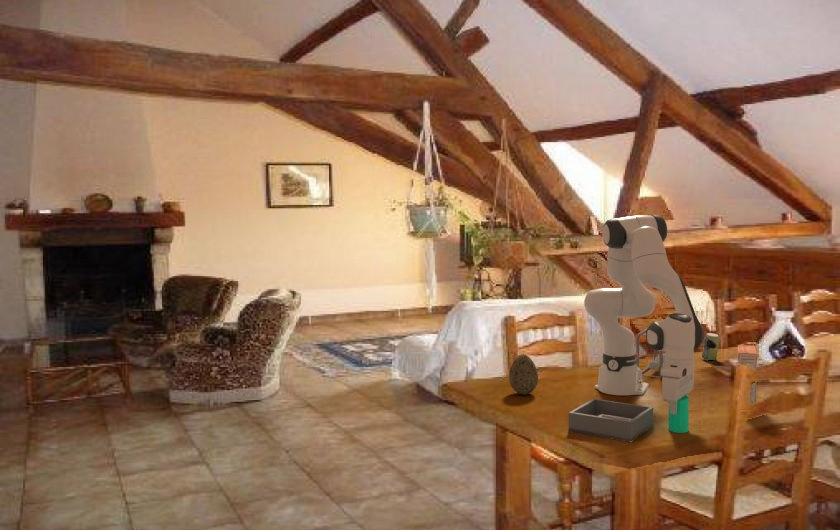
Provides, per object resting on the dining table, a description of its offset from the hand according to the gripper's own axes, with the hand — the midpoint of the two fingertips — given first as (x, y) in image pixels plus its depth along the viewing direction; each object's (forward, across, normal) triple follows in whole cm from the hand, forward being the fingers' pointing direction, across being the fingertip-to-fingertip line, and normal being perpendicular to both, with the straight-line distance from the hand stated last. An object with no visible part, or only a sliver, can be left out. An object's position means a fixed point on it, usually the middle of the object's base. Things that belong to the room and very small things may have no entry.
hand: (678, 410), depth 241 cm
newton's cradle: (+6, -77, -32) cm, 84 cm away
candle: (+7, 0, 0) cm, 7 cm away
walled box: (+6, +10, -18) cm, 21 cm away
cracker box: (+6, -36, +12) cm, 39 cm away
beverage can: (+6, -110, -19) cm, 112 cm away
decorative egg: (+6, -13, -61) cm, 63 cm away
